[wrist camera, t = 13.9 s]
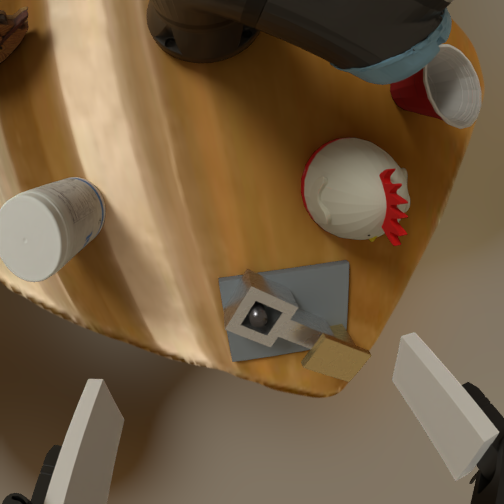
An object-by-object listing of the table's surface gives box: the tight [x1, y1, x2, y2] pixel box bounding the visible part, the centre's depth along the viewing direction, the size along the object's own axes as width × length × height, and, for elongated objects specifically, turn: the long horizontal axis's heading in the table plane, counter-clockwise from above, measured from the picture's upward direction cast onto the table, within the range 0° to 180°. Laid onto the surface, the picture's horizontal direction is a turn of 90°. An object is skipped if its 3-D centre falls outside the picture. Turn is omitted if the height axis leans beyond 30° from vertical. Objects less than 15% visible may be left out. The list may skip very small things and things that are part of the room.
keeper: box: [301, 324, 371, 382], centre depth 44 cm, size 5×9×9 cm, turn 61°
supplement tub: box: [0, 177, 106, 282], centre depth 32 cm, size 10×10×15 cm
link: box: [224, 269, 336, 349], centre depth 44 cm, size 15×7×6 cm, turn 61°
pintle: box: [248, 301, 267, 327], centre depth 42 cm, size 2×2×6 cm
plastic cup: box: [390, 44, 481, 129], centre depth 33 cm, size 11×11×12 cm
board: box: [219, 260, 349, 362], centre depth 48 cm, size 14×19×1 cm
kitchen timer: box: [301, 138, 410, 246], centre depth 36 cm, size 14×14×15 cm
